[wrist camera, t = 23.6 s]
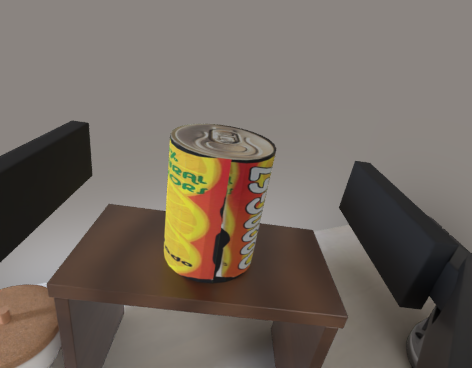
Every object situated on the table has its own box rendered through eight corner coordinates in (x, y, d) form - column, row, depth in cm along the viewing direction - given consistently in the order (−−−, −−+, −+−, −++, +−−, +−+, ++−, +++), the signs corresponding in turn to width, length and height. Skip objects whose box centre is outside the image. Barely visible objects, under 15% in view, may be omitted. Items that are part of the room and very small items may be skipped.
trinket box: (-5, 441, 29) (-27, 384, 25) (-66, 383, 32) (-95, 324, 28) (89, 351, 38) (83, 298, 34) (32, 313, 41) (21, 261, 37)
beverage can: (160, 283, 26) (167, 154, 20) (166, 224, 33) (172, 119, 28) (260, 283, 27) (290, 164, 22) (243, 226, 35) (262, 129, 30)
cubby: (281, 329, 45) (312, 229, 37) (296, 430, 33) (348, 317, 25) (113, 311, 43) (108, 203, 35) (67, 412, 32) (45, 283, 24)
